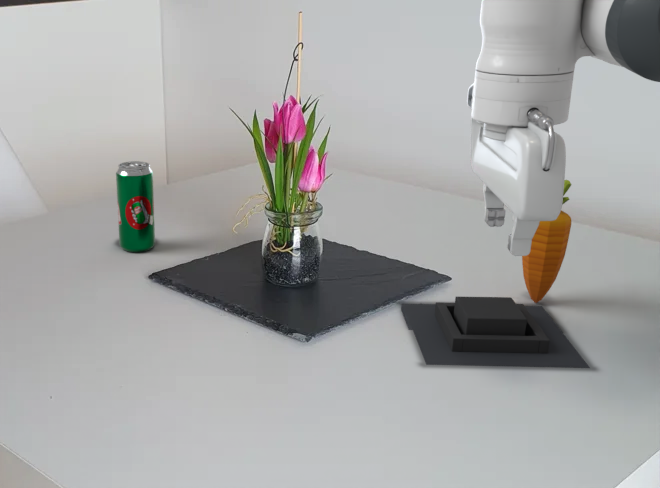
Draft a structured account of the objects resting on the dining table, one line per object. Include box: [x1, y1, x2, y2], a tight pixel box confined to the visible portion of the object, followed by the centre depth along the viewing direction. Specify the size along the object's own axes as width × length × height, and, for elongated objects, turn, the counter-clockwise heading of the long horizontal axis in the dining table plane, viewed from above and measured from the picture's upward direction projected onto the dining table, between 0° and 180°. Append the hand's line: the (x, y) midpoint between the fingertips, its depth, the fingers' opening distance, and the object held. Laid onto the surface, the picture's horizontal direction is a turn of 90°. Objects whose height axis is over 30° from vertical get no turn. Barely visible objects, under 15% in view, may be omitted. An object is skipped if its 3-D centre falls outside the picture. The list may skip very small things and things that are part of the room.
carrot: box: [521, 179, 572, 304], centre depth 96 cm, size 5×5×15 cm
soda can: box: [115, 160, 156, 253], centre depth 117 cm, size 5×5×12 cm
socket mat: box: [400, 302, 591, 369], centre depth 89 cm, size 16×16×2 cm
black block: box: [453, 296, 527, 336], centre depth 89 cm, size 6×6×3 cm
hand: (505, 238), depth 85 cm, fingers open, 8 cm apart
